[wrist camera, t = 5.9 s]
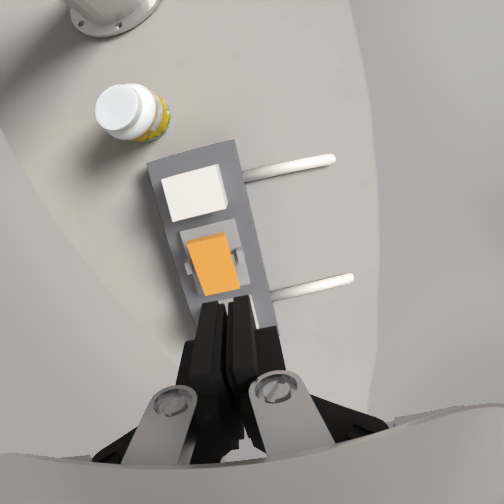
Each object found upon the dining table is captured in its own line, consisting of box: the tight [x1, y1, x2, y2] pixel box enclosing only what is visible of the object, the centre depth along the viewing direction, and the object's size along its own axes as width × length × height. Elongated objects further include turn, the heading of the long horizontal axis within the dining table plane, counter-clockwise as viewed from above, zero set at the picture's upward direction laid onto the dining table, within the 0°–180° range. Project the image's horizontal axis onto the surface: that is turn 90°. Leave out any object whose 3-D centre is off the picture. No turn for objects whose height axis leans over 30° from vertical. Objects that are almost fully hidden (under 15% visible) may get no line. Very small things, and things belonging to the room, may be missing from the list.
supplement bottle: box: [95, 83, 171, 142], centre depth 27 cm, size 5×5×10 cm
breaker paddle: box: [186, 232, 240, 296], centre depth 31 cm, size 6×4×1 cm, turn 13°
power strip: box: [146, 139, 354, 336], centre depth 32 cm, size 22×19×6 cm
